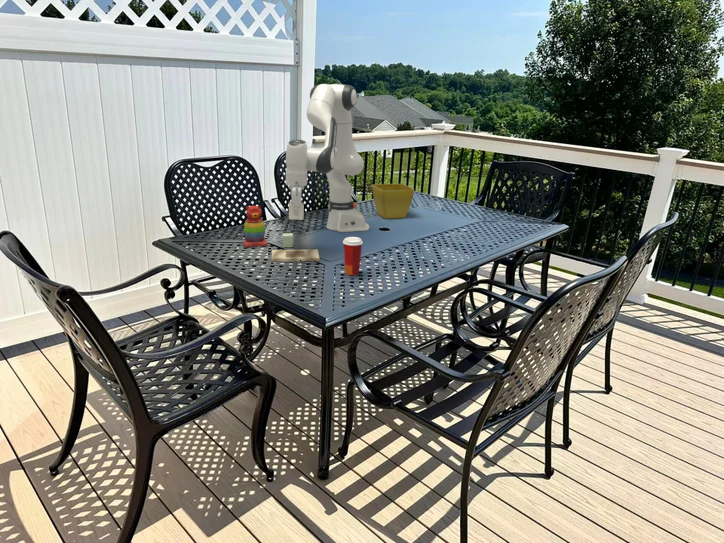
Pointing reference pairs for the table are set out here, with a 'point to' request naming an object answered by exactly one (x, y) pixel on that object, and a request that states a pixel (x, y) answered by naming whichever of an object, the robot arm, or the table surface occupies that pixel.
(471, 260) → the table surface
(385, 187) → the flower pot
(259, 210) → the stacking bear
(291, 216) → the cream block
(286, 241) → the sage cube
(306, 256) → the base board
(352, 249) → the paper cup
